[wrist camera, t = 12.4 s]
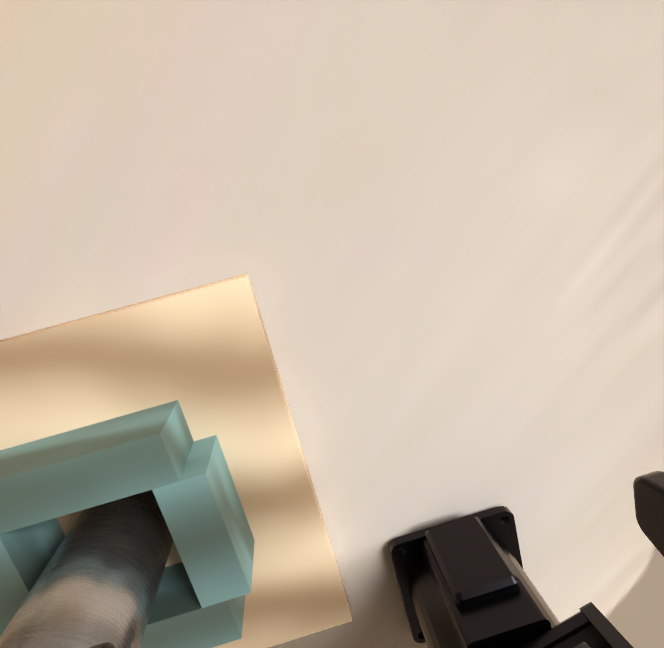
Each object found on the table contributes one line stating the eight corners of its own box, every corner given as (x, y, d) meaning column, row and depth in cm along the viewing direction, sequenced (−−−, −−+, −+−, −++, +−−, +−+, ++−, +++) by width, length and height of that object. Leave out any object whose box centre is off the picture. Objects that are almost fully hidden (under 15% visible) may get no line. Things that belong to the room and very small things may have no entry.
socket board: (349, 604, 23) (363, 681, 20) (45, 700, 23) (-3, 800, 19) (247, 273, 19) (239, 288, 15) (-140, 378, 18) (-255, 423, 14)
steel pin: (190, 543, 20) (114, 841, 11) (103, 570, 20) (-54, 896, 11) (160, 469, 19) (43, 724, 10) (68, 496, 19) (-144, 784, 9)
